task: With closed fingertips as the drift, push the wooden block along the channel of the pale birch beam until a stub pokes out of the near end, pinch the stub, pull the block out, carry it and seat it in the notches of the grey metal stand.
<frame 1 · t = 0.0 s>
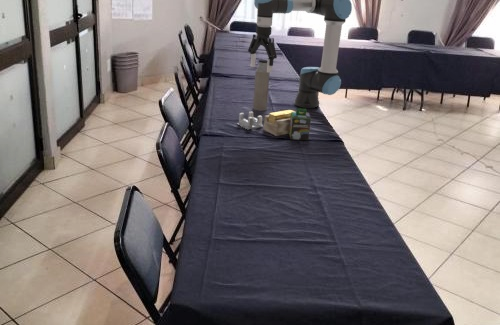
hand: (260, 69, 227), 28 cm above the table, fingers open, 13 cm apart
stand: (250, 126, 232), on the table
thermos bottle: (259, 108, 262), on the table
chalk box: (298, 137, 221), on the table
wooden block: (282, 121, 226), point 5 cm above the table, touching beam
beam: (281, 130, 228), on the table
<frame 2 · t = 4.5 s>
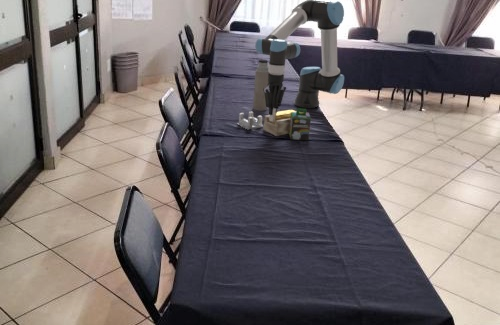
hand: (271, 120, 222), 6 cm above the table, fingers closed
wooden block: (283, 121, 227), point 5 cm above the table, touching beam, gripper
everything else where it was.
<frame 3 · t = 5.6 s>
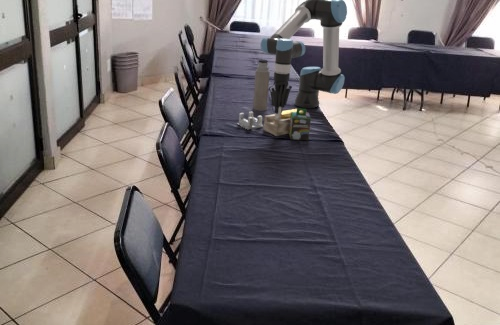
hand: (277, 119, 224), 6 cm above the table, fingers closed
wooden block: (288, 120, 229), point 5 cm above the table, touching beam, gripper
everything else where it was.
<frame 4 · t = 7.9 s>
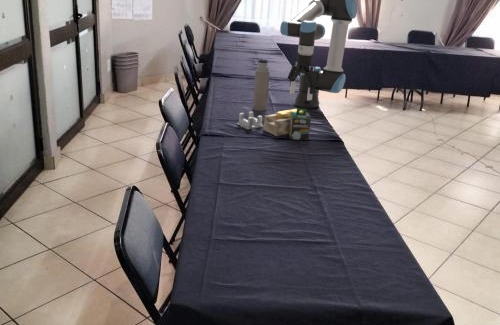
hand: (300, 96, 228), 16 cm above the table, fingers open, 12 cm apart
wooden block: (289, 120, 229), point 5 cm above the table, touching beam
everything else where it was.
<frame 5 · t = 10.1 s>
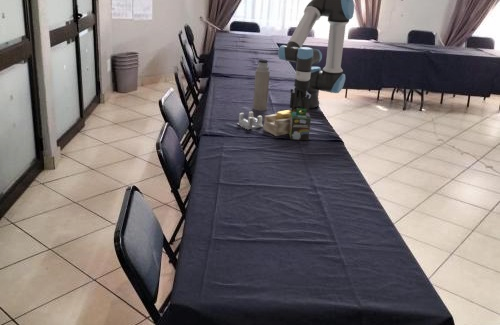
hand: (297, 123, 233), 2 cm above the table, fingers closed on wooden block, 4 cm apart
wooden block: (289, 119, 229), point 5 cm above the table, touching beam, gripper
everything else where it was.
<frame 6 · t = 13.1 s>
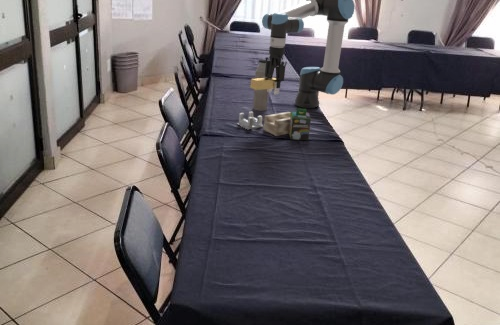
hand: (272, 92, 229), 17 cm above the table, fingers closed on wooden block, 4 cm apart
wooden block: (264, 88, 224), point 20 cm above the table, touching gripper
everything else where it was.
when the fingers open (2 cm above the table, at t = 16.5 s): wooden block drops 2 cm, resting on stand.
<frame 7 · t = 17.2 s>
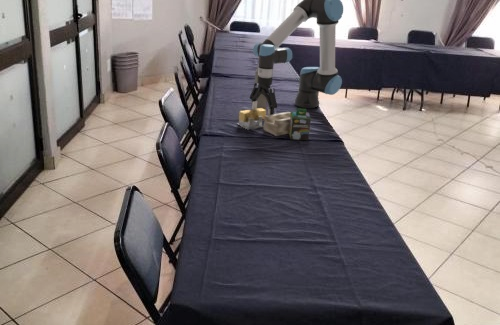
hand: (261, 116, 235), 4 cm above the table, fingers open, 13 cm apart
wooden block: (252, 119, 231), point 3 cm above the table, touching stand
everything else where it was.
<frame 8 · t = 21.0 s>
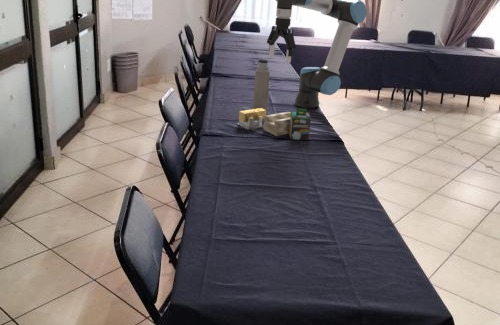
hand: (279, 60, 235), 32 cm above the table, fingers open, 13 cm apart
nothing on the table moved.
at the end: wooden block inside the target area on the stand (0.7 cm from its centre), point 3.5 cm above the stand's base; wooden block touching stand; the gripper is holding nothing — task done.
